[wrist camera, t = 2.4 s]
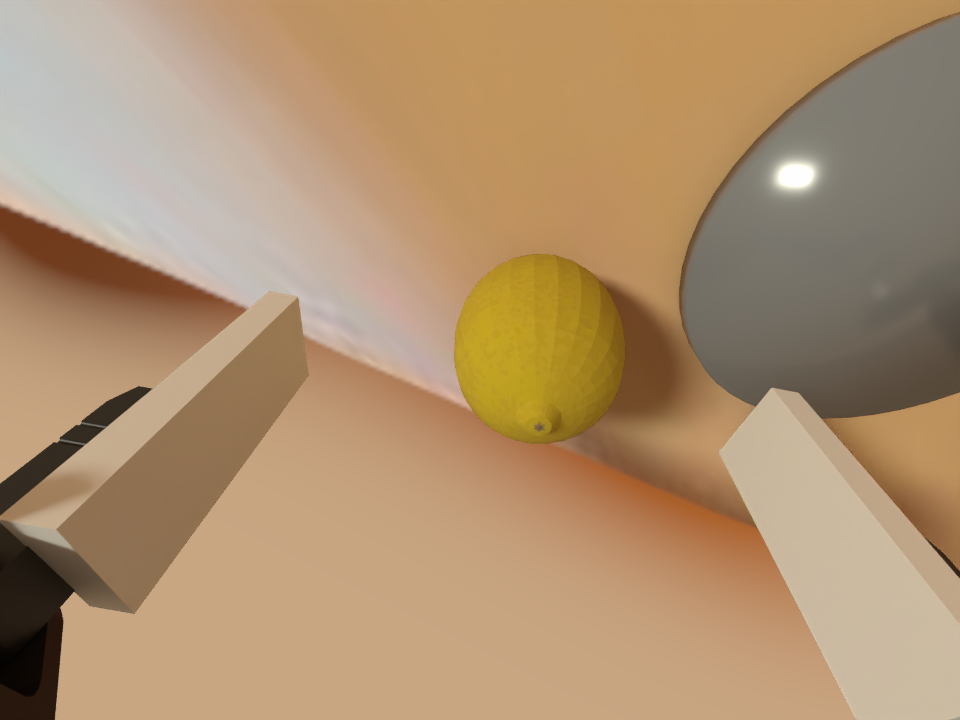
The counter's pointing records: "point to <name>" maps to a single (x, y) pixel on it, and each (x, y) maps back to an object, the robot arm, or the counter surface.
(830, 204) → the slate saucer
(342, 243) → the counter surface
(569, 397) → the lemon
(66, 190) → the counter surface
